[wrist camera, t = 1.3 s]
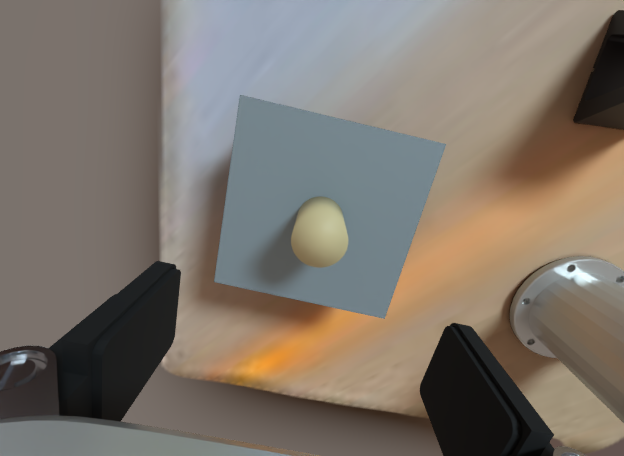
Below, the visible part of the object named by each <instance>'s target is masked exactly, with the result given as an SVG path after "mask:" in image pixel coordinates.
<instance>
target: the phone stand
mask: <svg viewBox="0 0 624 456" xmlns="http://www.w3.org/2000/svg"><path fill="white" fill-rule="evenodd" d="M593 68H594V71H593V72H591V75H590V77H589V80H588V82H587V85H586V88H585V90H584V93H583V95H582V98H581V101H580V103H579V106H578V108H577V111H576V114H575V116H574V119H573V121H574V122H575V123H582V124H589V125H596V126H603V127H610V128H616V129H623V130H624V10H618V11H617V12H616V13H615V14H614V15H613V17H612V20H611V22H610V25H609V28H608V30H607V33H606V35H605V38H604V41H603V43H602V46H601V48H600V51H599V54H598V56H597V59H596V62H595V64H594V67H593Z"/></svg>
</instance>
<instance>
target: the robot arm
mask: <svg viewBox="0 0 624 456" xmlns="http://www.w3.org/2000/svg"><path fill="white" fill-rule="evenodd" d="M180 276H181V272H180V270H177V269H176V265H175V264H170V263H165V262H160V261H157V262H155V263H154V264H153V265H151V266H150V267H149V268H148V269H147V270H145V271H144V272H143V273H142V274H141V275H139V276H138V277H137V278H136V279H135V280H133V281H132V282H131V283H130V284H129V285H127V286H126V287H125V288H124V289H123V290H121V291H120V292H119V293H118V294H115V295H114V296H112V297H110V298H109V299H108V300H107V301H106V302H104V303H103V304H102V305H101V306H100V307H98V308H97V309H96V310H95V311H93V312H92V313H91V314H90V315H89V316H87V317H86V318H85V319H84V320H82V321H81V322H80V323H79V324H78V325H76V326H75V327H74V328H73V329H71V330H70V331H69V332H68V333H67V334H65V335H64V336H63V337H62V338H61V339H59V340H58V341H57V342H56V343H54V344H53V345H52V346H51V347H50V348H45V347H42V346H21V347H14V348H11V349H7V350H4V351H1V352H0V456H318V455H313V454H308V453H302V452H297V451H291V450H285V449H280V448H274V447H269V446H263V445H257V444H252V443H246V442H240V441H234V440H229V439H223V438H217V437H211V436H206V435H200V434H194V433H189V432H183V431H177V430H170V429H164V428H158V427H151V426H145V425H139V424H132V423H126V422H120V421H121V420H122V418H123V417H124V416H125V414H126V413H127V411H128V409H129V408H130V407H131V405H132V404H133V402H134V401H135V399H136V397H137V396H138V395H139V393H140V392H141V390H142V389H143V387H144V386H145V384H146V383H147V381H148V379H149V378H150V377H151V375H152V374H153V372H154V371H155V369H156V368H157V366H158V365H159V363H160V362H161V360H162V359H163V357H164V356H165V354H166V353H167V351H168V350H169V348H170V347H171V345H172V343H173V340H174V337H175V328H176V317H177V307H178V297H179V287H180ZM510 323H511V327H512V329H513V332H514V334H515V335H516V336H517V338H518V339H519V340H520V341H521V342H522V343H523V344H524V346H526V347H527V348H528V349H530V350H531V351H533V352H535V353H537V354H539V355H542V356H546V357H551V358H558V359H559V360H560V361H561V362H562V363H563V364H564V365H565V366H566V367H567V368H568V369H569V370H570V371H571V372H572V373H573V374H574V375H575V376H576V377H577V378H578V379H579V380H580V381H581V382H582V383H583V384H584V385H585V386H586V387H587V388H588V389H589V390H590V391H591V392H592V393H593V394H594V395H595V396H596V397H597V398H598V399H600V400H601V401H602V402H603V403H604V404H605V405H606V406H607V407H608V408H609V409H610V410H611V411H612V412H613V413H614V414H615V415H616V416H617V417H618V418H619V419H620V420H621V421H622V422H623V423H624V271H623V270H622V269H620V268H619V267H617V266H615V265H614V264H612V263H609V262H607V261H605V260H602V259H599V258H595V257H590V256H576V257H568V258H564V259H561V260H557V261H554V262H552V263H550V264H548V265H546V266H544V267H542V268H541V269H539V270H538V271H536V272H534V273H533V274H532V275H531V276H530V277H529V278H528V279H527V280H525V282H524V283H523V284H522V285H521V287H520V288H519V289H518V291H517V293H516V294H515V296H514V298H513V301H512V304H511V307H510ZM420 395H421V398H422V400H423V403H424V406H425V408H426V411H427V413H428V416H429V419H430V421H431V424H432V427H433V429H434V432H435V434H436V437H437V440H438V442H439V445H440V448H441V450H442V453H443V456H587V455H585V454H583V453H581V452H579V451H578V450H575V449H572V448H570V447H564V446H559V447H557V448H555V449H554V448H553V447H552V445H551V444H550V443H549V442H550V440H551V439H552V437H553V436H554V434H553V433H552V432H551V430H550V429H549V428H548V426H547V425H546V424H545V422H544V421H543V420H542V418H541V417H540V416H539V415H538V413H537V412H536V411H535V409H534V408H533V407H532V405H531V404H530V403H529V401H528V400H527V399H526V398H525V396H524V395H523V394H522V392H521V391H520V390H519V388H518V387H517V386H516V384H515V383H514V382H513V380H512V379H511V378H510V377H509V375H508V374H507V373H506V371H505V370H504V369H503V367H502V366H501V365H500V363H499V362H498V361H497V360H496V358H495V357H494V356H493V354H492V353H491V352H490V350H489V349H488V348H487V346H486V345H485V344H484V343H483V341H482V340H481V339H480V337H479V336H478V335H477V333H476V332H475V331H474V329H473V328H472V327H470V326H466V325H462V324H457V323H452V324H451V325H450V326H447V327H446V328H445V329H444V331H443V334H442V336H441V338H440V341H439V343H438V345H437V347H436V350H435V352H434V354H433V357H432V359H431V361H430V364H429V366H428V368H427V371H426V373H425V375H424V377H423V380H422V382H421V385H420Z"/></svg>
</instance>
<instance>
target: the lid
mask: <svg viewBox="0 0 624 456" xmlns="http://www.w3.org/2000/svg"><path fill="white" fill-rule="evenodd" d="M445 146H446V144H443V143H439V142H435V141H431V140H426V139H422V138H418V137H414V136H410V135H406V134H401V133H397V132H393V131H389V130H385V129H381V128H376V127H372V126H368V125H364V124H360V123H355V122H351V121H347V120H343V119H339V118H335V117H330V116H326V115H322V114H318V113H314V112H310V111H305V110H301V109H297V108H293V107H289V106H285V105H280V104H276V103H272V102H268V101H264V100H260V99H255V98H251V97H247V96H243V95H240V98H239V106H238V113H237V120H236V127H235V134H234V142H233V149H232V156H231V163H230V171H229V178H228V185H227V192H226V199H225V207H224V214H223V221H222V228H221V236H220V243H219V250H218V257H217V264H216V272H215V279H214V282H217V283H221V284H226V285H230V286H235V287H240V288H244V289H249V290H254V291H258V292H263V293H268V294H272V295H277V296H282V297H286V298H291V299H296V300H300V301H305V302H309V303H314V304H319V305H323V306H328V307H333V308H337V309H342V310H347V311H351V312H356V313H361V314H365V315H370V316H375V317H379V318H384V319H385V316H386V313H387V310H388V307H389V305H390V302H391V299H392V296H393V293H394V290H395V288H396V285H397V282H398V279H399V276H400V273H401V271H402V268H403V265H404V262H405V259H406V256H407V254H408V251H409V248H410V245H411V242H412V239H413V237H414V234H415V231H416V228H417V225H418V222H419V220H420V217H421V214H422V211H423V208H424V205H425V203H426V200H427V197H428V194H429V191H430V188H431V186H432V183H433V180H434V177H435V174H436V171H437V169H438V166H439V163H440V160H441V157H442V154H443V152H444V149H445Z"/></svg>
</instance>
